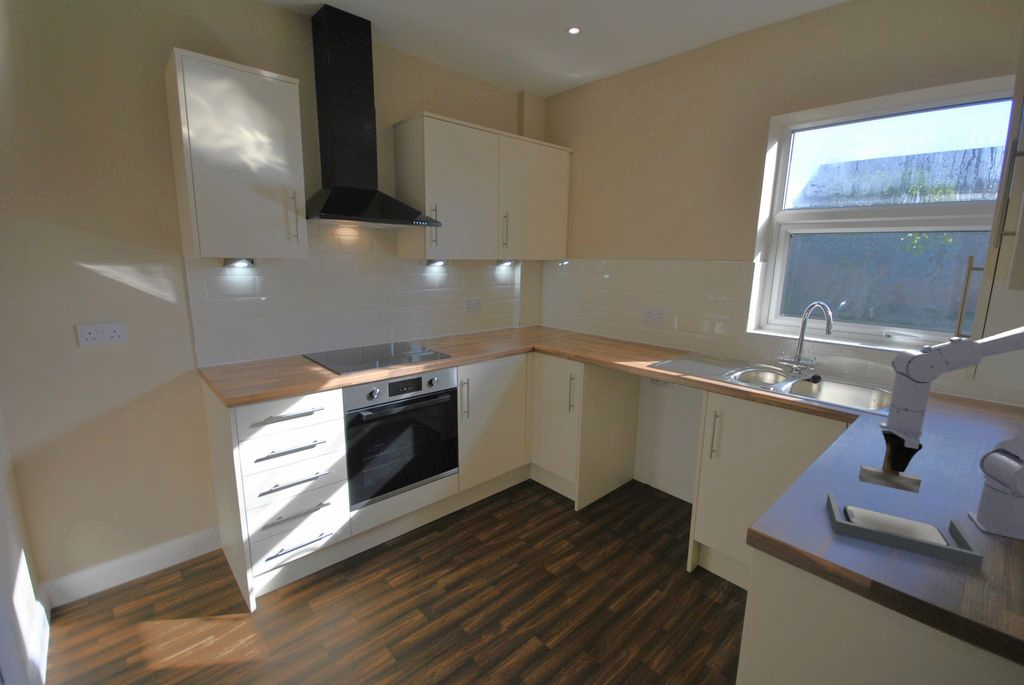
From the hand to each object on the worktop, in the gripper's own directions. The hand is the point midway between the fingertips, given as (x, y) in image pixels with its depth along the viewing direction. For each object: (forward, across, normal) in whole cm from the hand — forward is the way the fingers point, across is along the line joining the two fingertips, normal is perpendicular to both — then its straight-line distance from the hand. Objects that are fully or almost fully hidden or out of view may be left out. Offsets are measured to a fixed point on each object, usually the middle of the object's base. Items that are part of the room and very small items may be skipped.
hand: (895, 467), depth 101 cm
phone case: (+11, +8, 0) cm, 13 cm away
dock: (+10, +9, 0) cm, 14 cm away
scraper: (+4, 0, -1) cm, 4 cm away
